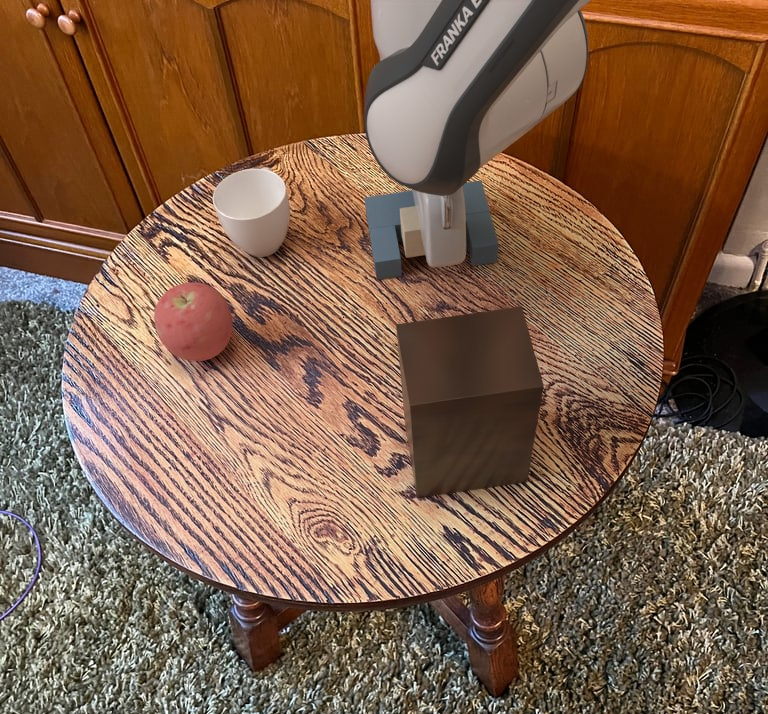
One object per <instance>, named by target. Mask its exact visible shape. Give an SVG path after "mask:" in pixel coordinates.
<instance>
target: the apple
mask: <svg viewBox="0 0 768 714" xmlns="http://www.w3.org/2000/svg"><path fill="white" fill-rule="evenodd" d="M153 314H154V315H153V320H154V326H155V327H154V328H155V330H156V333H157V336H158V339H159V340H160V342H161V344H162V345H163V346H164V347H165V348H166V350H167V351H168V352H169V353H170V354H172V355H174V356H176V357H177V358H179V359H182V360H186V361H190V362H204V361H207V360H211V359H213V358H215V357H217V356H218V355H219V354H221V353H222V352H223V351H224V350H225V348H226V347H227V346H228V344H229V342H230V340H231V337H232V333H233V328H234V322H233V315H232V311H231V308H230V306H229V304H228V302H227V300H226V298H225V297H224V296H223V294H222V293H221V292H219V291H218V290H217V289H216V288H215V287H213V286H210V285H208V284H207V283H201V282H194V281H193V282H190V281H189V282H182V283H180V284H176V285H174V286H173V287H171V288H168V289H167V290H166V292H164V293H163V294H162V296H161V297H160V298H159V300H158V301H157V303H156V305H155V309H154V313H153Z"/></svg>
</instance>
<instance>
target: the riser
mask: <svg viewBox="0 0 768 714" xmlns="http://www.w3.org/2000/svg"><path fill="white" fill-rule="evenodd" d="M395 329H396V340H397V350H398V351H397V352H398V362H399V373H400V384H401V394H402V395H401V397H402V406H403V407H402V408H403V417H404V427H405V435H406V439H407V440H406V441H407V446H408V451H409V458H410V465H411V470H412V471H411V472H412V477H413V484H414V489H415V494H416V498H417V499H419V498H425V497H431V496H432V497H433V496H439V495H440V496H441V495H447V494H453V493H461V492H467V491H474V490H481V489H489V488H494V487H495V488H497V487H501V486H509V485H515V484H516V485H517V484H522V483H523V484H524V483H527V482H528V479H529V474H530V468H531V461H532V457H533V451H534V444H535V440H536V435H537V434H536V433H537V428H538V423H539V418H540V417H539V416H540V412H541V405H542V399H543V394H544V387H545V385H544V382H543V379H542V374H541V371H540V367H539V363H538V360H537V356H536V352H535V349H534V346H533V342H532V339H531V335H530V334H531V333H530V330H529V327H528V323H527V320H526V317H525V313H524V309H523V306H522V305H519V306H512V307H503V308H498V309H491V310H484V311H478V312H471V313H464V314H457V315H451V316H444V317H437V318H429V319H423V320H416V321H409V322H402V323H396V324H395Z"/></svg>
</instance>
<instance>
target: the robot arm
mask: <svg viewBox="0 0 768 714" xmlns="http://www.w3.org/2000/svg"><path fill="white" fill-rule="evenodd" d="M591 1H592V0H370V14H371V25H372V35H373V41H374V44H375V46H376V49H377V52H378V55H379V61H378V62H377V63H375V65H374V66H373V67H372V69H371V70H370V73H369V74H368V75H369V76H368V80H367V84H366V88H365V89H366V90H365V96H364V104H363V105H364V106H363V124H364V132H365V139H366V141H367V145H368V147H369V150H370V152H371V155H372V156H373V158H374V160H375V161H376V163H377V164H378V166H379V167H380V169H381V170H382V171H383V172H384V173H385V174H386V175H387V176H388V177H389V178H390V179H391V180H393V181H394V182H396V183H397V184H398V185H401V186H403V187H405V188H407V189H410V190H411V191H412V192H413V197H414V202H415V207H416V212H417V216H418V221H419V226H420V231H421V236H422V241H423V246H424V250H425V255H424V256H425V259H426V263H427V265H428V266H429V267H430V268H443V267H451V266H455V265H460V264H462V263H463V262H464V261H465V260H466V257H467V243H466V212H465V200H464V192H463V187H462V186H463V185H464V184H465V183H466V182H469V181H470V180H471V179H472V178H473V177H475V175H477V173H478V172H479V170H480V169H481V168H482V167H484V166H485V165H487V164H488V163H489V162H490V161H492V160H493V159H494V158H495V157H497V156H499V154H501V153H502V152H503V151H505V150H507V148H508V147H510V146H511V145H512V144H514V143H515V142H517V141H518V140H519V139H521V138H522V137H523V136H524V135H526V134H527V133H528V132H530V131H531V130H532V129H533V128H534V127H535V126H537V125H538V124H540V123H541V122H542V121H544V120H545V119H546V118H548V117H549V116H550V115H551V114H552V113H554V111H556V110H557V109H559V108H560V107H561V106H562V105H564V104H565V103H566V102H567V101H568V100H569V99H570V98H572V97H573V96H574V95H575V94H576V93H577V92H578V91H579V89H580V87H581V86H582V83H583V81H584V79H585V76H586V73H587V69H588V68H587V67H588V64H589V63H588V62H589V52H590V51H589V50H590V49H589V47H590V45H589V34H588V28H587V25H586V20H585V18H584V15H583V12H582V8H584V7H585V6H586V5H588V4H589V3H590V2H591Z"/></svg>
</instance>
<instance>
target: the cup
mask: <svg viewBox="0 0 768 714" xmlns="http://www.w3.org/2000/svg"><path fill="white" fill-rule="evenodd" d="M212 203H213V207H214V211H215V214H216V216H217V219H218V221H219V224H220V226H221V228H222V230H223V231H224V233H225V234H226V235H227V237H228V238H229V239H230V240H231V242H232V243H233V244H234V245H235V246H236V247H237V248H239V249H240V250H242V251H243V252H245V253H247V254H248V255H250V256H252V257H254V258H255V257H257V258H264V257H265V258H266V257H269V256H271V255H273V254H275V253H276V252H277V251H279V249H280V248H281V246H282V244H283V243H284V241H285V239H286V237H287V234H288V231H289V227H290V221H291V205H290V199H289V194H288V191H287V185H286V183H285V181H284V179H283V178H282V177H281V176H280V175H279V174H277V172H274V171H273V170H272V168H271V167H267V166H263V167H261V168H246V169H242V170H239V171H236V172H234V173H231V174H230V175H228V176H226V177H225V178H223V179H222V180H221V181H220V182H219V183H218V184H217V186H216V187H215V189H214V191H213V194H212Z"/></svg>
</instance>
